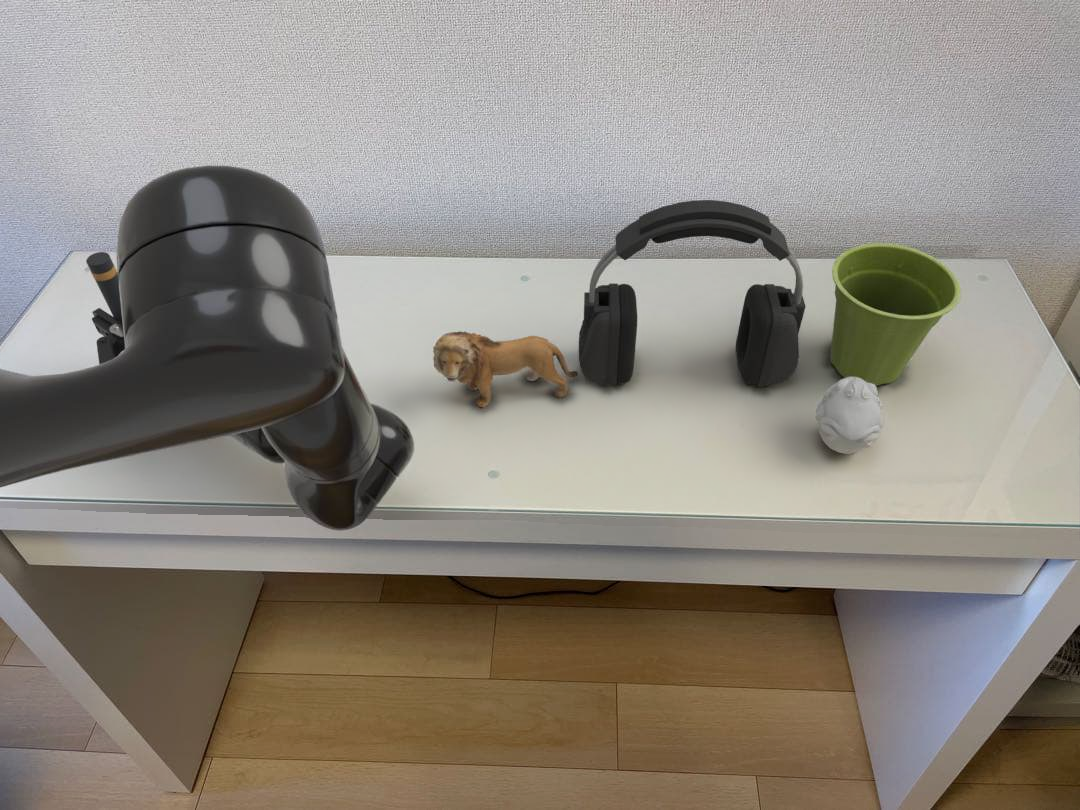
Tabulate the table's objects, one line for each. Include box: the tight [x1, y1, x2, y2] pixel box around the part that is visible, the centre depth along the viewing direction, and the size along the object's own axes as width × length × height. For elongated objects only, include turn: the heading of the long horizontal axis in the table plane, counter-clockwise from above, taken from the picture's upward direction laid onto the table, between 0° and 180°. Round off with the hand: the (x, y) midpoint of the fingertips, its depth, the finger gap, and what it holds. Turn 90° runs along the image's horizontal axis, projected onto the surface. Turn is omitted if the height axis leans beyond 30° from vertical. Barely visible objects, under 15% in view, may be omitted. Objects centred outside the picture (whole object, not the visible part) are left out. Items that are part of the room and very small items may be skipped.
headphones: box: [578, 199, 807, 387], centre depth 83 cm, size 22×6×20 cm, turn 88°
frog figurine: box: [815, 377, 885, 455], centre depth 80 cm, size 6×7×7 cm
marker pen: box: [85, 251, 123, 325], centre depth 83 cm, size 2×2×16 cm
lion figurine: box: [432, 331, 579, 409], centre depth 85 cm, size 15×5×9 cm, turn 107°
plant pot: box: [829, 242, 962, 387], centre depth 86 cm, size 12×12×11 cm
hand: (110, 310), depth 84 cm, fingers closed on marker pen, 2 cm apart
